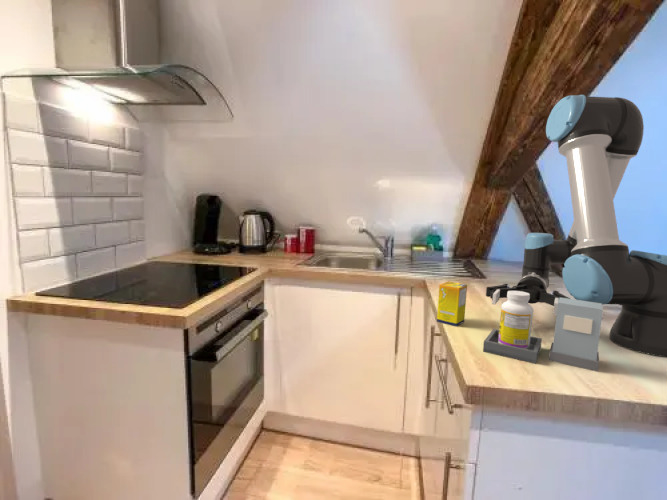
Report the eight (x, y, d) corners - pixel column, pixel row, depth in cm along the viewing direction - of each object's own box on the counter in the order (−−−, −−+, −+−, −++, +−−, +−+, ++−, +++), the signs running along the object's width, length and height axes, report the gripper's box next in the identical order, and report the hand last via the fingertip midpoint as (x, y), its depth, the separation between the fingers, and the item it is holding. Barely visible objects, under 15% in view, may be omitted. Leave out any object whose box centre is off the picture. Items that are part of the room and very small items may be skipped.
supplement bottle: (505, 339, 94) (510, 288, 93) (533, 347, 90) (539, 293, 88) (492, 345, 90) (497, 291, 88) (522, 354, 85) (528, 298, 83)
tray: (540, 348, 91) (542, 338, 91) (535, 363, 82) (537, 352, 82) (492, 338, 97) (493, 328, 97) (483, 351, 88) (484, 341, 88)
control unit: (597, 360, 86) (604, 303, 84) (597, 371, 80) (606, 310, 78) (550, 350, 90) (557, 296, 89) (548, 360, 85) (555, 302, 83)
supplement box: (444, 317, 114) (447, 280, 112) (464, 321, 110) (467, 284, 109) (436, 321, 109) (438, 283, 108) (456, 326, 105) (459, 287, 104)
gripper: (487, 270, 119) (472, 281, 101) (583, 282, 106) (585, 297, 88) (485, 294, 120) (469, 309, 102) (580, 308, 107) (581, 329, 89)
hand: (523, 303), depth 95 cm, fingers open, 13 cm apart
